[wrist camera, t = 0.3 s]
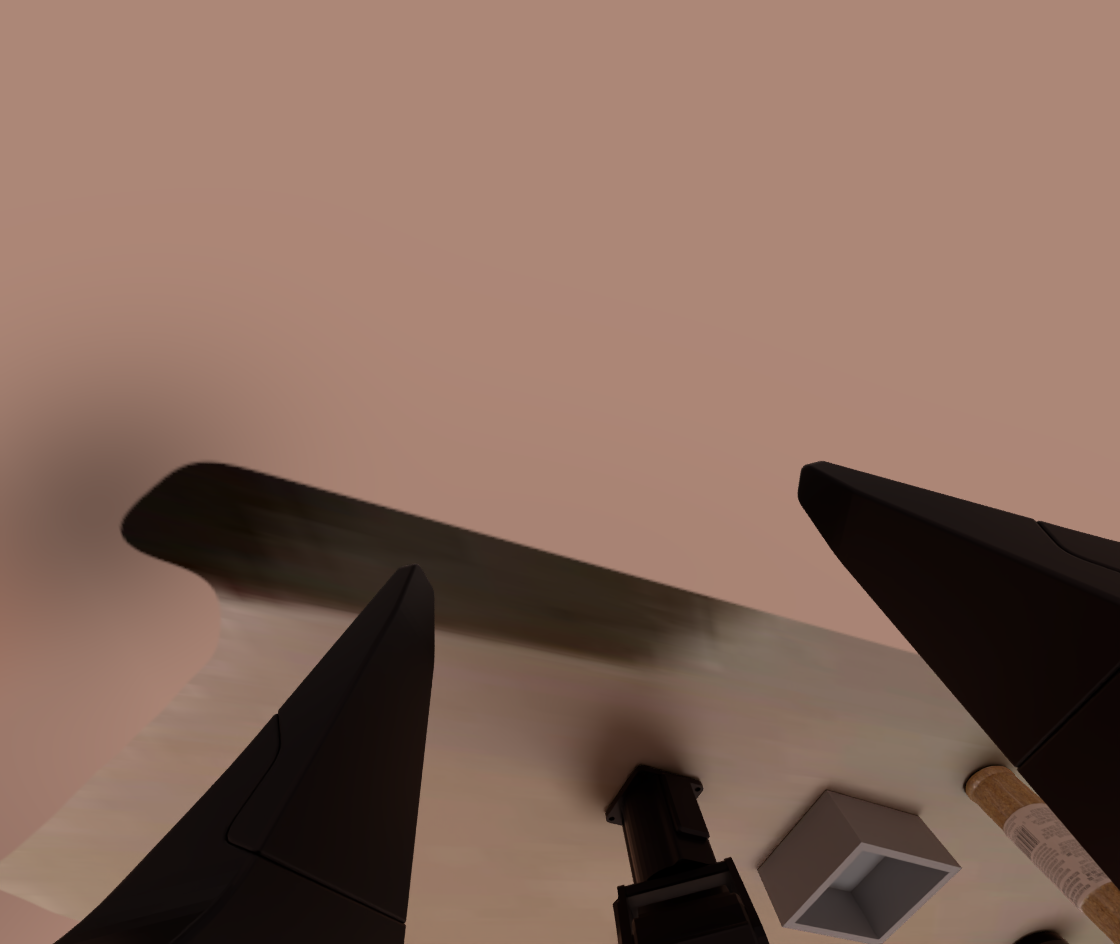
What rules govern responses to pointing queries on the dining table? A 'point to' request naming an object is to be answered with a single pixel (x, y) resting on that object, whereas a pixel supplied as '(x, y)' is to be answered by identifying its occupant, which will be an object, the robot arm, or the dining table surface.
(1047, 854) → the sprinkles bottle
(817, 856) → the bin
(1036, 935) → the supplement container
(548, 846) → the dining table surface
